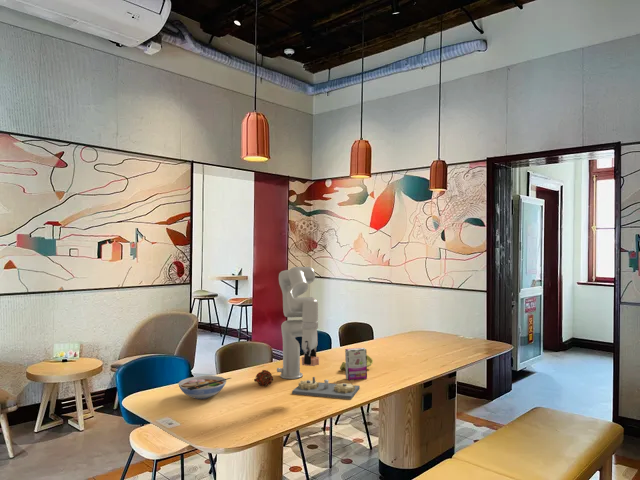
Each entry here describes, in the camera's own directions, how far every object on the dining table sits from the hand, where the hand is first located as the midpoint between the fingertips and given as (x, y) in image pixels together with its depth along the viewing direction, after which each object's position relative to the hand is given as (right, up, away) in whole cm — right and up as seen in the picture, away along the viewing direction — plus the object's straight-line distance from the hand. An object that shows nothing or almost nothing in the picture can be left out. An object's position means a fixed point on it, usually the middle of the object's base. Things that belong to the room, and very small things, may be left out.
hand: (310, 362), depth 220 cm
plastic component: (+27, -19, +53) cm, 63 cm away
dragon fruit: (-25, -18, +23) cm, 38 cm away
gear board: (+8, -18, +11) cm, 22 cm away
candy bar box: (+25, -18, +34) cm, 46 cm away
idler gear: (0, -1, 0) cm, 1 cm away
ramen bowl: (-52, -18, +3) cm, 56 cm away
